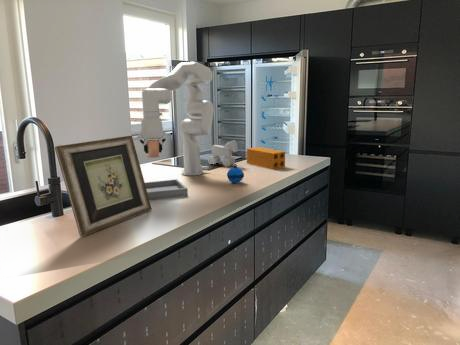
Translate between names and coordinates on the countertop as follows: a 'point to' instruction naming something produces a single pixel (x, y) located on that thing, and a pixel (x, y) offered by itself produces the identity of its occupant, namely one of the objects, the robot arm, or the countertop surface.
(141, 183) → the picture frame
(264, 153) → the brick
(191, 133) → the robot arm
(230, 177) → the ornament
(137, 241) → the countertop surface
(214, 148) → the pony
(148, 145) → the terracotta cup
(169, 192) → the grey square tray
